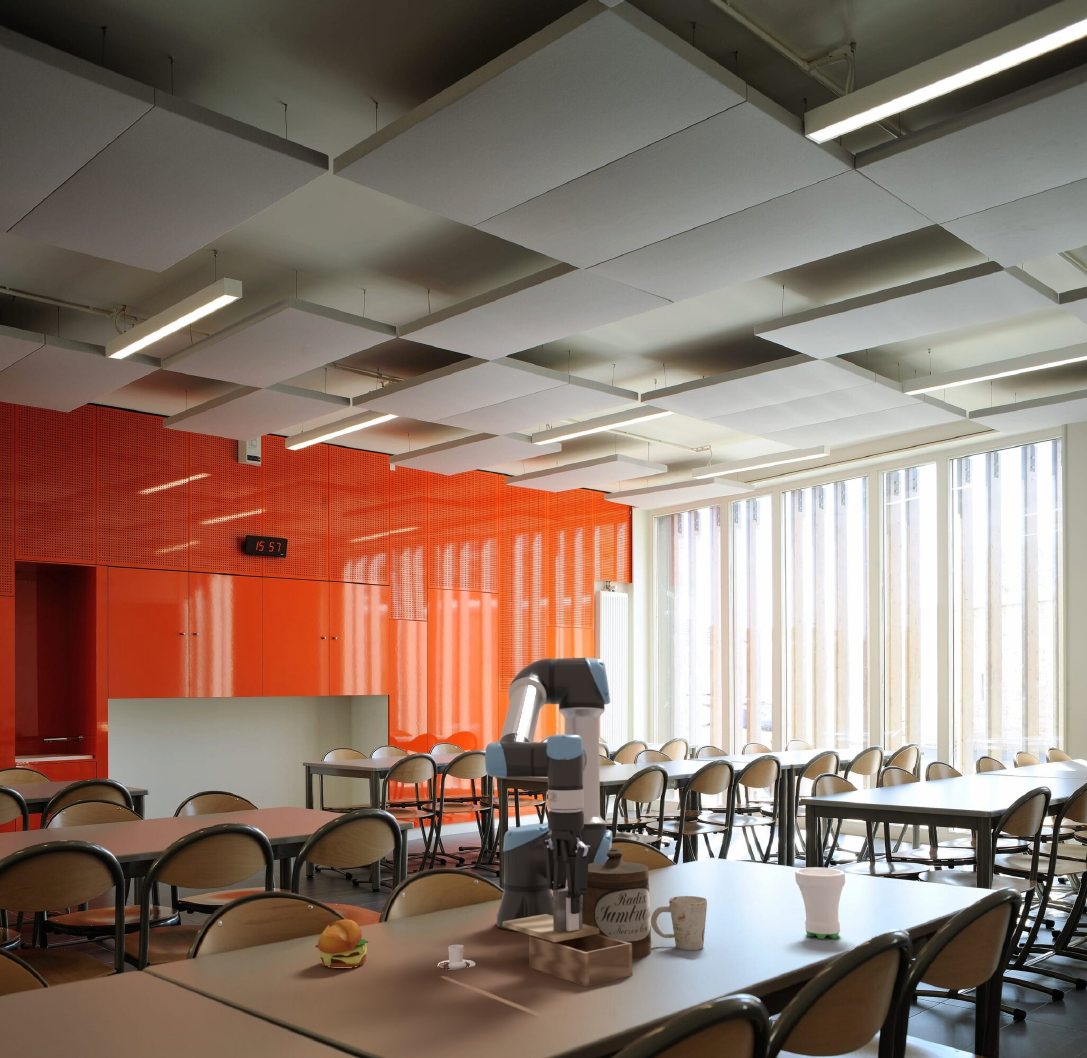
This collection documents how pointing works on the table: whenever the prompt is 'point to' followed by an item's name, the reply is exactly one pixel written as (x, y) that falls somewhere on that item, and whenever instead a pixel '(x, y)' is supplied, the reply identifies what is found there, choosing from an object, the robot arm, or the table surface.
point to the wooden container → (619, 902)
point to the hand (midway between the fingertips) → (567, 928)
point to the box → (582, 958)
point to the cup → (821, 899)
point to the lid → (552, 922)
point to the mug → (684, 921)
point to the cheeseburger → (342, 945)
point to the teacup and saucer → (457, 958)
